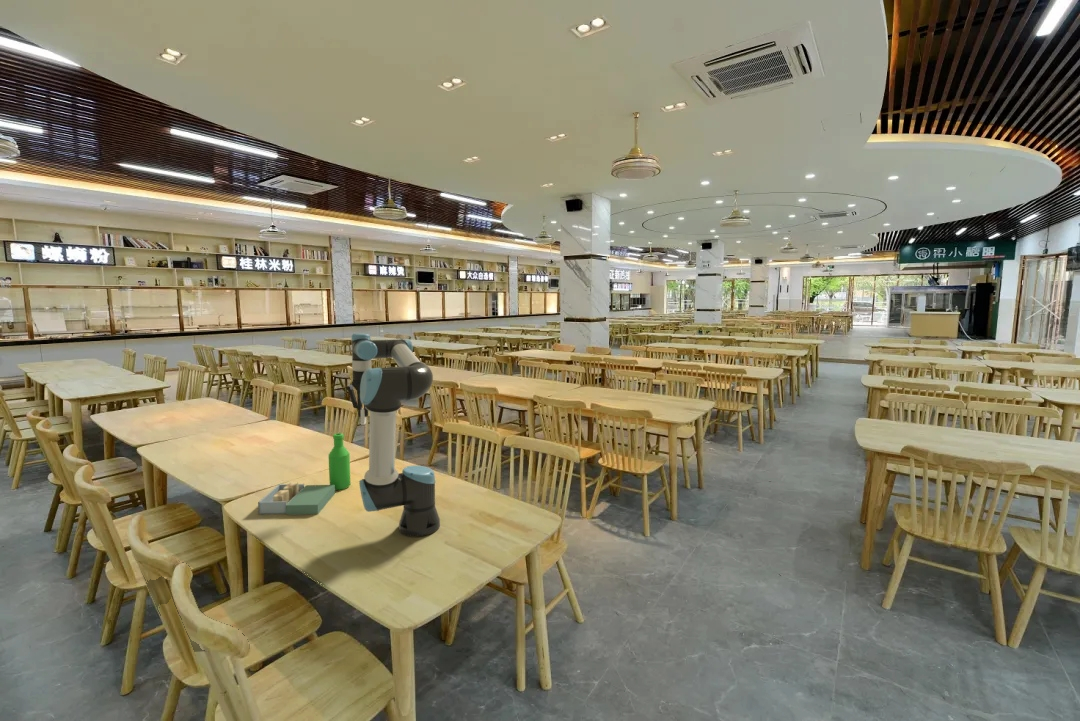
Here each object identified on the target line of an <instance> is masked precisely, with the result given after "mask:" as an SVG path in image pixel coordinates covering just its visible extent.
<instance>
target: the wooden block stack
mask: <svg viewBox="0 0 1080 721" xmlns="http://www.w3.org/2000/svg"><path fill="white" fill-rule="evenodd" d="M287 484H288V485H287V486H285V487H284V488H283V489H284V490H289V501H290V500H291V499H292V498H293V497H294V496H295V495H296V494H297V493H298V492H299V487H298V484H299V482H289V483H287Z"/></svg>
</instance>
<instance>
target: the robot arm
mask: <svg viewBox="0 0 1080 721" xmlns="http://www.w3.org/2000/svg"><path fill="white" fill-rule="evenodd" d="M350 343H351V359H352V360H351V366H352V381H351V384H350V385H347V386H346V389H347V390H346V391H348V394H349V397H350V399H351V403H352V407H353V408H354V409H356V410H357V415H358V417H360V425H362V426H365V425H366V424H367V417H369V440H368V441H369V447H368V448H369V449H368V451H369V452H368V454H369V455H368V470H366V472H364V478H362V479H360V480H359V481H358V482H359V489H360V497H361V499H362V500H361V501H362V504H363V507H364V510H365V511H366V512H369V513H370V512H379V511H381V510H387V509H391V508H397V507H401V506H403V508H402V509H403V510H402V513H401V516H400V519H399V524H398V530H399V532H400V533H401V534H402V535H403V536H407V537H412V538H414V537H415V538H416V537H418V538H419V537H425V536H428V535H431V534H433V533H435V532H436V531H438V530H439V529H440V526H441V519H440V516H439V513H438V510H437V508H436V476H435V472H434V470H433V469H432V468H430V467H428V466H425V465H424V466H423V465H409V466H406V467H403V469H402V471H401V472H399V471H398V470H397V469H396V468H395V462H396V461H395V459H396V436H397V435H396V432H397V430H396V428H397V412H398V411H399V410H400V409H401V408H402V402H405V401H413V400H416V399H420V398H422V397H423V396H424V395H425V394H427V392H428V391H429V390H430V388H432V385H433V380H434V377H433V376H434V374H433V372H432V370H431V368H430V367H429V366H428V365H427V364H426V362H425V363H424V362H422V361H420V360H419V358H418V357H417V355H415V354H414V347H413V342H412V340H410V339H406V338H405V339H404V338H401V339H397V338H396V339H371V335H370V334H369V333H363V332H361V333H353V334H351V341H350ZM372 359H393V361H394V362H395V363H396V365H397V366H388V367H373V368H372ZM354 389H355V391H356V394H355V391H354ZM356 395H357V397H356Z"/></svg>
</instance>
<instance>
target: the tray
mask: <svg viewBox="0 0 1080 721" xmlns="http://www.w3.org/2000/svg"><path fill="white" fill-rule="evenodd" d="M288 484H289V483H287V484H284V483H283V484H278V485H277V486H275V487H274V488H273V489H272V490H271V491H270V492H268V493H267V494H266V495H264V496H263V498H261V499H260V500H259V501H258V502H257V505H258V506H257V507H258V509H257V510H258V515H284V514H286V515H287V513H286V505H287V504H288V503H289V502H290V501H291V500H292V499H293V498H294V497H295V496H296V495H297V494H298V493H299V492H300V491H301V490H302V489H303V488H304V487H305V484H304V483H298V487H299V492H298V493H297V494H296V495H295V496H294V497H293V498H292V499H291V500H290V501H289V502H288V503H287V504H286V501H280V502H273V496H274V495H275V494H276V493H277V492H278V491H280V490H284V489H283V488H284V487H285V486H287V485H288Z"/></svg>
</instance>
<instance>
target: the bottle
mask: <svg viewBox="0 0 1080 721" xmlns="http://www.w3.org/2000/svg"><path fill="white" fill-rule="evenodd" d="M344 438H345V436H344V433H340V432H339V433H334V434H333V437H332V439H333V448H332V449H331V450H330V452H329V453H328V474H329V477H328V479H329V485H335V491H341V490H345V489H347V488H349V487H350V486H351V465H350V464H351V462H350V460H351V459H350V457H351V456H350V451H349V450H348V449H347V448H346V447H345V445H344Z"/></svg>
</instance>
